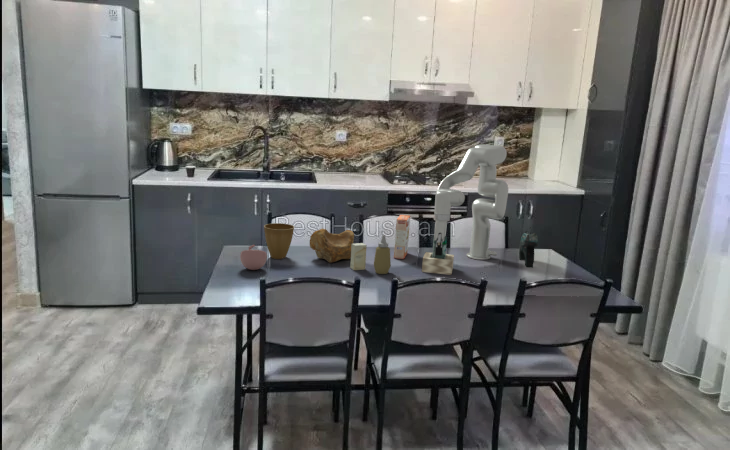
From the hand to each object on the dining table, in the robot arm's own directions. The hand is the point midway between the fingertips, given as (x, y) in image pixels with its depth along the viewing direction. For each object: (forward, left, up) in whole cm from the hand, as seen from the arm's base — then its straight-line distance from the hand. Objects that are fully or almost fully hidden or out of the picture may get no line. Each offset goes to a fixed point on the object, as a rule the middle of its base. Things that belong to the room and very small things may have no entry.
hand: (439, 253), depth 264 cm
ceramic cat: (-43, -30, -9) cm, 53 cm away
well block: (0, 0, -8) cm, 8 cm away
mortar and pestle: (+82, +32, -9) cm, 88 cm away
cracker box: (+21, -19, -9) cm, 30 cm away
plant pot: (+79, +8, -9) cm, 80 cm away
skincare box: (+37, +13, -9) cm, 40 cm away
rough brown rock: (+52, +2, -9) cm, 53 cm away
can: (0, 0, -7) cm, 7 cm away
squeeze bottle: (+25, +15, -9) cm, 30 cm away
